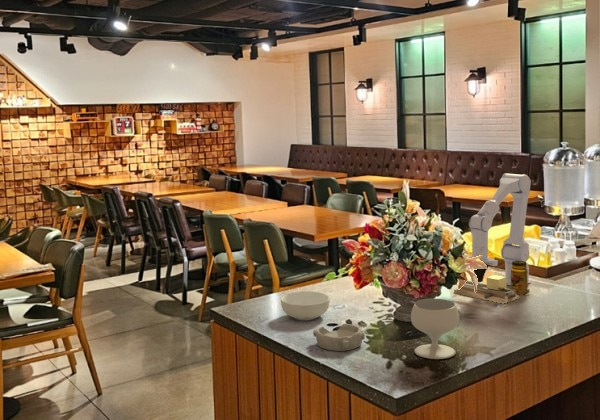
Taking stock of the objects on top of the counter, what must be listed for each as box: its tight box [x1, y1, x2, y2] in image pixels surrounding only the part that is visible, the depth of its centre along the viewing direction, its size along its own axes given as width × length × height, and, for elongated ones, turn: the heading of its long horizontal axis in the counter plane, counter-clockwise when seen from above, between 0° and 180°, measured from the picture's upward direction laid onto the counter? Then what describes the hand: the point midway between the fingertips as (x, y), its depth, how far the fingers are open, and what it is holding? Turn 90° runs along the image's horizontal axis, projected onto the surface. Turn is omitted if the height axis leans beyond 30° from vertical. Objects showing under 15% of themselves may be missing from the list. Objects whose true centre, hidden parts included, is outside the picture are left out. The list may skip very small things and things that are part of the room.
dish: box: [312, 323, 366, 352], centre depth 218 cm, size 14×14×5 cm
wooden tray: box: [453, 279, 520, 305], centre depth 267 cm, size 12×22×4 cm, turn 40°
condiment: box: [510, 261, 531, 296], centre depth 270 cm, size 7×8×12 cm
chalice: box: [410, 298, 460, 360], centre depth 208 cm, size 14×14×15 cm
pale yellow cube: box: [486, 274, 507, 291], centre depth 263 cm, size 5×5×5 cm
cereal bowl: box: [280, 290, 330, 321], centre depth 247 cm, size 17×17×7 cm
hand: (479, 281), depth 269 cm, fingers closed
